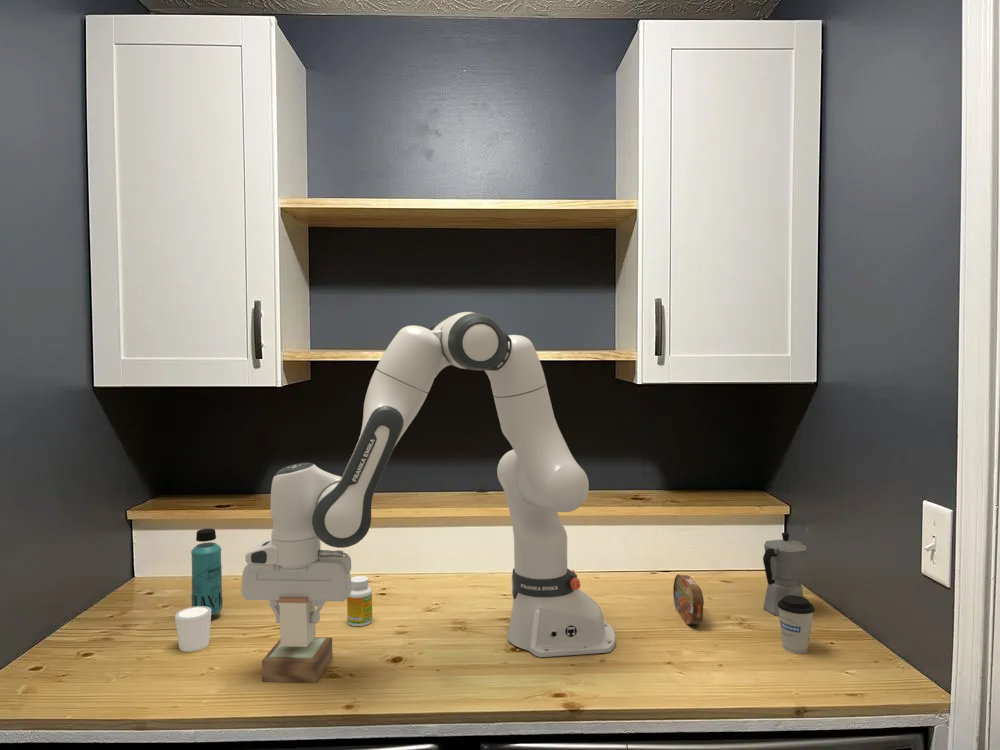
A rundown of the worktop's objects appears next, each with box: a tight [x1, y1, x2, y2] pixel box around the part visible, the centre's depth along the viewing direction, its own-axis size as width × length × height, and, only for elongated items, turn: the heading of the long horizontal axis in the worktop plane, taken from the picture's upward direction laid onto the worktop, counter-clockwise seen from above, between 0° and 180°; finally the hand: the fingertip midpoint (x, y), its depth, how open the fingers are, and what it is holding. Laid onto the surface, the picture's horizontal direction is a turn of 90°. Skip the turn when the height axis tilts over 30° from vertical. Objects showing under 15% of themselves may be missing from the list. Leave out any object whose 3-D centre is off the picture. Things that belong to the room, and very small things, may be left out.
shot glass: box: [174, 606, 212, 653], centre depth 140 cm, size 7×7×7 cm
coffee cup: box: [777, 595, 816, 655], centre depth 137 cm, size 7×7×10 cm
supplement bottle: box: [346, 575, 373, 627], centre depth 151 cm, size 5×5×10 cm
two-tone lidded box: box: [279, 597, 317, 647], centre depth 130 cm, size 5×5×9 cm
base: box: [261, 636, 334, 684], centre depth 130 cm, size 10×10×4 cm
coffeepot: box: [762, 531, 808, 617], centre depth 156 cm, size 15×9×18 cm, turn 129°
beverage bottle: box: [190, 528, 224, 616], centre depth 154 cm, size 6×7×20 cm
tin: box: [672, 574, 705, 625], centre depth 153 cm, size 15×3×8 cm, turn 1°
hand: (298, 621), depth 130 cm, fingers closed on two-tone lidded box, 5 cm apart
